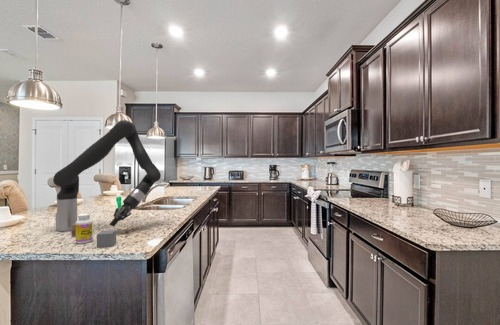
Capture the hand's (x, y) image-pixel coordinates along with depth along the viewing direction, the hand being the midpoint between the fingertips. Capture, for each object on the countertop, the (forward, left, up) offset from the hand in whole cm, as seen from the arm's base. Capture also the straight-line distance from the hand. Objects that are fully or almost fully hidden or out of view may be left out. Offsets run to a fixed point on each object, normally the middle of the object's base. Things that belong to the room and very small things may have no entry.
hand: (111, 225), depth 129 cm
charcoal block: (+9, -14, -5) cm, 17 cm away
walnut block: (-16, -3, -5) cm, 17 cm away
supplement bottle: (-5, -12, -5) cm, 14 cm away
